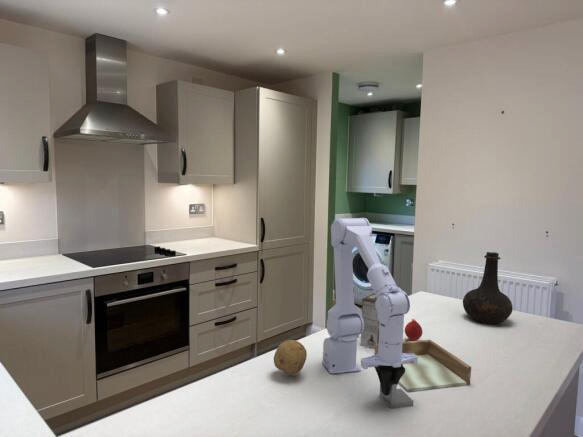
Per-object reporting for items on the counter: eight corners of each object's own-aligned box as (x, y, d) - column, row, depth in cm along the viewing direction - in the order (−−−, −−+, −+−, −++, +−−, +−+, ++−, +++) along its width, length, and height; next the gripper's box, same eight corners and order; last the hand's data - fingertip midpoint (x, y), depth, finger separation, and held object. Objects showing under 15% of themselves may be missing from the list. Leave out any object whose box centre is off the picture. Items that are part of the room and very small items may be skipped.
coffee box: (372, 336, 142) (374, 292, 140) (389, 341, 138) (391, 296, 136) (359, 344, 134) (361, 298, 133) (377, 350, 131) (379, 302, 129)
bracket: (391, 408, 97) (392, 384, 96) (379, 395, 103) (380, 372, 102) (413, 405, 99) (414, 382, 98) (400, 392, 104) (401, 370, 104)
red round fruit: (419, 338, 141) (421, 316, 141) (423, 345, 136) (424, 322, 135) (402, 337, 142) (404, 315, 141) (405, 344, 136) (407, 321, 135)
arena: (407, 392, 105) (408, 373, 104) (374, 359, 123) (374, 344, 123) (470, 384, 110) (471, 367, 109) (429, 354, 128) (430, 339, 128)
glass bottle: (452, 314, 169) (457, 248, 166) (487, 311, 174) (491, 248, 172) (484, 330, 152) (490, 257, 149) (521, 326, 157) (527, 255, 155)
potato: (277, 384, 107) (278, 348, 106) (270, 369, 115) (270, 335, 114) (309, 381, 109) (311, 345, 108) (300, 366, 118) (301, 333, 117)
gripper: (370, 349, 93) (368, 405, 94) (425, 344, 97) (422, 398, 98) (358, 337, 100) (355, 389, 101) (410, 333, 103) (407, 383, 105)
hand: (387, 392), depth 100 cm, fingers closed on bracket
